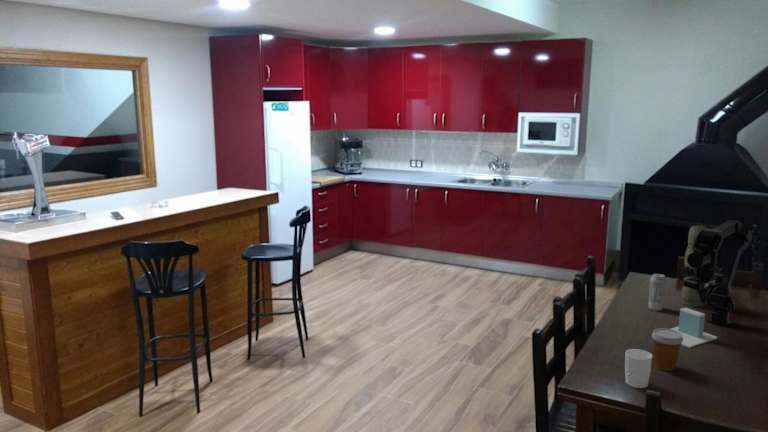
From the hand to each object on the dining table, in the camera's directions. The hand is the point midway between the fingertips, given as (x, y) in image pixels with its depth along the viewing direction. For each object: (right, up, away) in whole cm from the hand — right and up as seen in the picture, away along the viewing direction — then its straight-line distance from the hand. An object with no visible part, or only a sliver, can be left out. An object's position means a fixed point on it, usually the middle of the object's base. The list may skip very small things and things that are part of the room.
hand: (703, 302), depth 220 cm
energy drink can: (-5, -7, +27) cm, 29 cm away
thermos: (+13, -6, +33) cm, 36 cm away
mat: (-8, -13, -2) cm, 15 cm away
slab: (-5, -12, -1) cm, 13 cm away
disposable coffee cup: (-28, -18, -26) cm, 42 cm away
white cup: (-42, -20, -37) cm, 60 cm away
